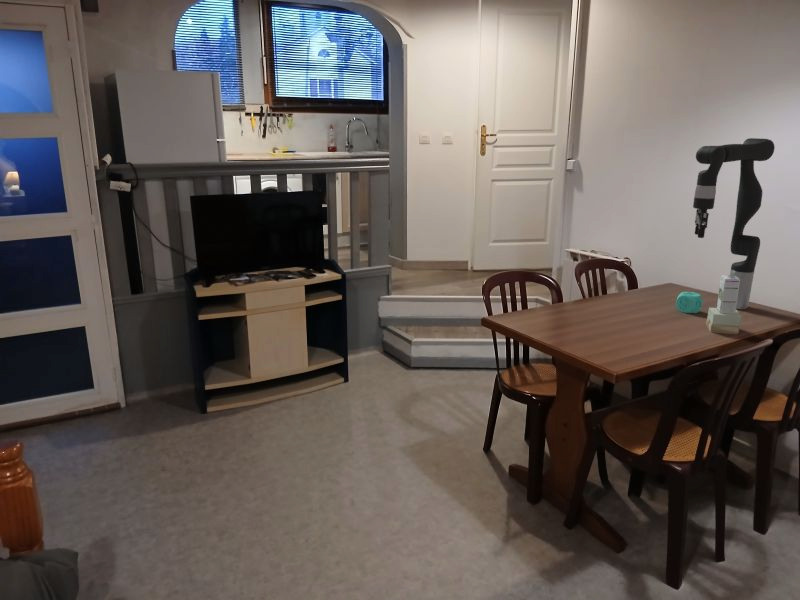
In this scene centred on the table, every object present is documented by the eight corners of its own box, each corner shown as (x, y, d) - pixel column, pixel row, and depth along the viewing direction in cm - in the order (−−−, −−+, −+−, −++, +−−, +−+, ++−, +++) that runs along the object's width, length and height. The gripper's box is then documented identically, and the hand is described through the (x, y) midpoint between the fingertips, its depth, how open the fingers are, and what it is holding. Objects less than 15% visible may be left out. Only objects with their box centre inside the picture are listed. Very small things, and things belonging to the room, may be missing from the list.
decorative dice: (701, 311, 262) (704, 294, 260) (691, 314, 258) (694, 297, 256) (684, 307, 268) (686, 290, 266) (674, 310, 264) (677, 293, 262)
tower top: (707, 316, 243) (709, 307, 242) (734, 318, 240) (736, 309, 239) (712, 323, 234) (713, 314, 233) (740, 326, 231) (741, 316, 230)
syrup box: (735, 314, 233) (741, 279, 228) (719, 313, 234) (725, 278, 229) (731, 309, 238) (736, 275, 234) (715, 309, 239) (720, 274, 235)
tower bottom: (706, 325, 245) (707, 316, 243) (732, 327, 242) (734, 318, 240) (710, 332, 235) (711, 323, 234) (738, 335, 232) (739, 325, 231)
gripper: (718, 198, 230) (712, 239, 234) (711, 195, 243) (706, 233, 247) (697, 198, 232) (691, 238, 237) (692, 194, 245) (686, 233, 250)
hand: (699, 236), depth 242 cm, fingers open, 8 cm apart
